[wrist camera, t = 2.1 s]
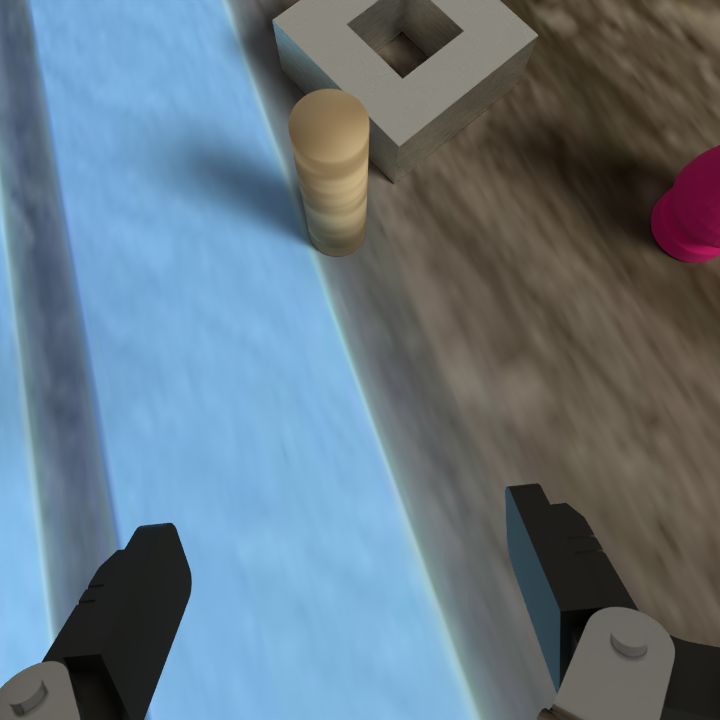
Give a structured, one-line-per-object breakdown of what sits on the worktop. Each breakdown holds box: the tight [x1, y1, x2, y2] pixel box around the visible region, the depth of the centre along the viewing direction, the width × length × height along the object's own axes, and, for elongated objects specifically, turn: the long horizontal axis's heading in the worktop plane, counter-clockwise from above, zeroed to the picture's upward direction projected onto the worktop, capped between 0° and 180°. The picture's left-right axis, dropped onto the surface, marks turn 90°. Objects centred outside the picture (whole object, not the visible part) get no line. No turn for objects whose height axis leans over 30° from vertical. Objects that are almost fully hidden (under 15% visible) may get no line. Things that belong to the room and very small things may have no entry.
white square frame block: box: [273, 0, 538, 184], centre depth 42 cm, size 14×14×5 cm
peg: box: [288, 89, 369, 257], centre depth 35 cm, size 4×4×13 cm
